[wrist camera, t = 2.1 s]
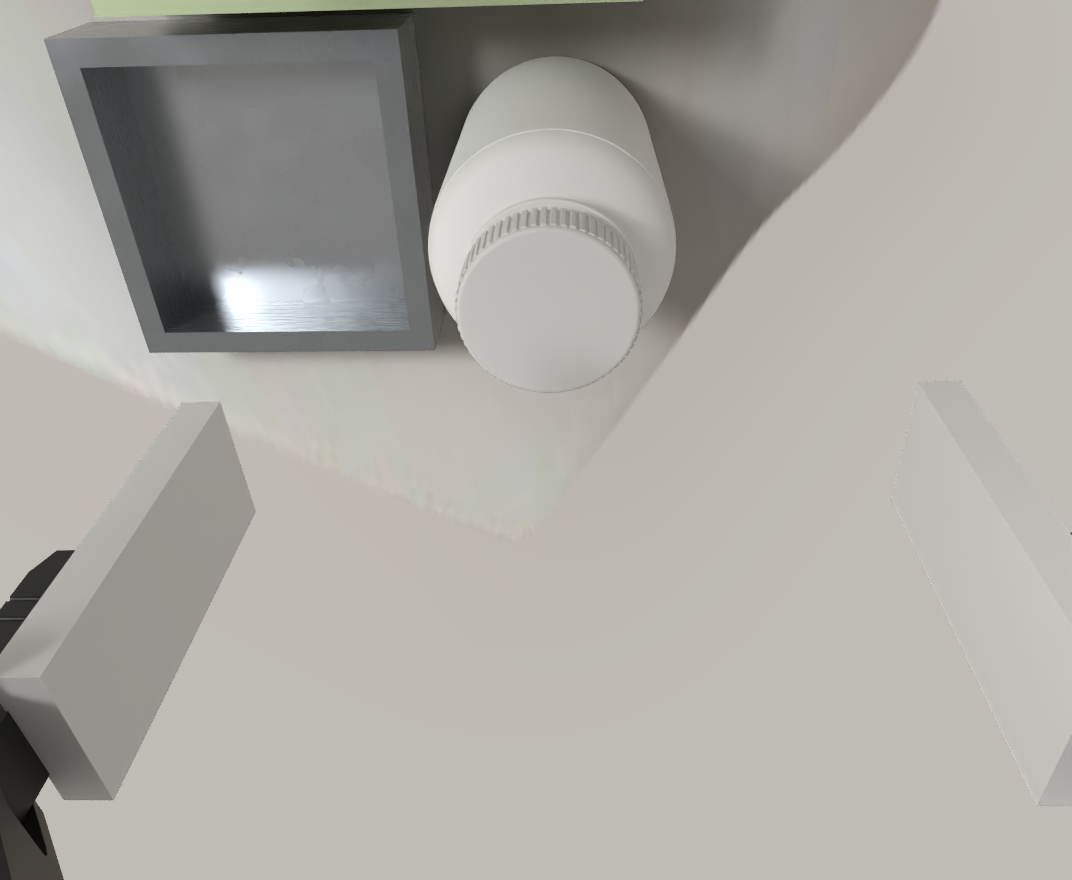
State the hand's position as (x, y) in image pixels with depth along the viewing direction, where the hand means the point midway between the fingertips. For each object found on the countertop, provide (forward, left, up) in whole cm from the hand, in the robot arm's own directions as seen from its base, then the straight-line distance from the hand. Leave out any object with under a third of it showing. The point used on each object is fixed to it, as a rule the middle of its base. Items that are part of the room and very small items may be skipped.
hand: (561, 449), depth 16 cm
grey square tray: (-13, -2, -23) cm, 26 cm away
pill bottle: (-1, -1, -23) cm, 23 cm away
